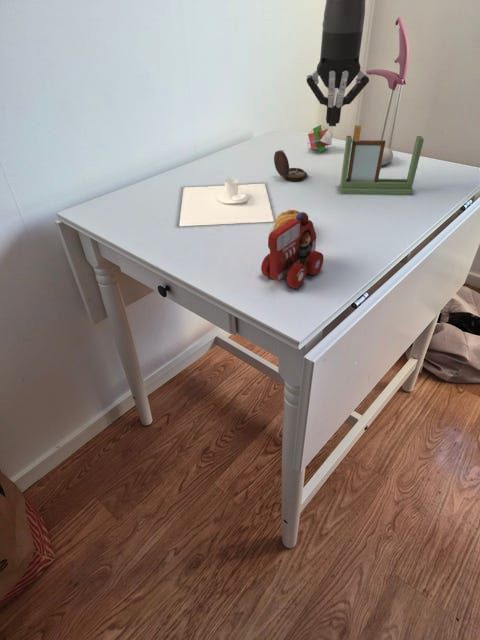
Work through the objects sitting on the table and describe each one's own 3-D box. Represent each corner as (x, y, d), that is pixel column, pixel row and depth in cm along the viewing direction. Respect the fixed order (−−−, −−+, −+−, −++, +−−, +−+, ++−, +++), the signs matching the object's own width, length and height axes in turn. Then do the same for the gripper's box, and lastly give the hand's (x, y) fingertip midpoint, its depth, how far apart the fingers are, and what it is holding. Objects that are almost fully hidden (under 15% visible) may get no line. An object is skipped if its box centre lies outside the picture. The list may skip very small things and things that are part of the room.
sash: (376, 184, 99) (387, 125, 90) (377, 186, 98) (388, 127, 90) (346, 183, 100) (354, 125, 91) (346, 185, 99) (354, 127, 90)
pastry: (314, 247, 80) (315, 229, 78) (279, 249, 80) (279, 232, 78) (304, 224, 88) (305, 206, 85) (272, 226, 87) (272, 209, 85)
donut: (386, 155, 117) (350, 154, 117) (389, 142, 115) (352, 142, 115) (395, 168, 110) (356, 168, 110) (398, 155, 107) (359, 154, 108)
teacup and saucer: (251, 206, 95) (250, 188, 92) (215, 207, 95) (214, 190, 92) (248, 190, 101) (248, 173, 99) (215, 191, 101) (214, 175, 99)
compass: (311, 178, 106) (313, 148, 101) (284, 184, 103) (285, 154, 98) (294, 168, 111) (296, 139, 107) (268, 174, 109) (268, 144, 104)
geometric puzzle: (296, 142, 120) (313, 121, 114) (310, 136, 124) (326, 115, 117) (312, 162, 120) (329, 142, 113) (325, 155, 124) (342, 135, 117)
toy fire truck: (328, 265, 76) (335, 211, 69) (287, 297, 69) (290, 241, 62) (296, 252, 79) (300, 200, 72) (254, 282, 72) (254, 227, 66)
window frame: (408, 187, 100) (420, 134, 92) (411, 194, 97) (424, 140, 89) (339, 186, 102) (346, 134, 94) (340, 193, 99) (347, 140, 91)
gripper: (307, 31, 78) (301, 130, 89) (381, 30, 76) (365, 130, 88) (307, 26, 83) (301, 120, 94) (375, 25, 82) (361, 120, 93)
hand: (332, 125), depth 91 cm, fingers closed
